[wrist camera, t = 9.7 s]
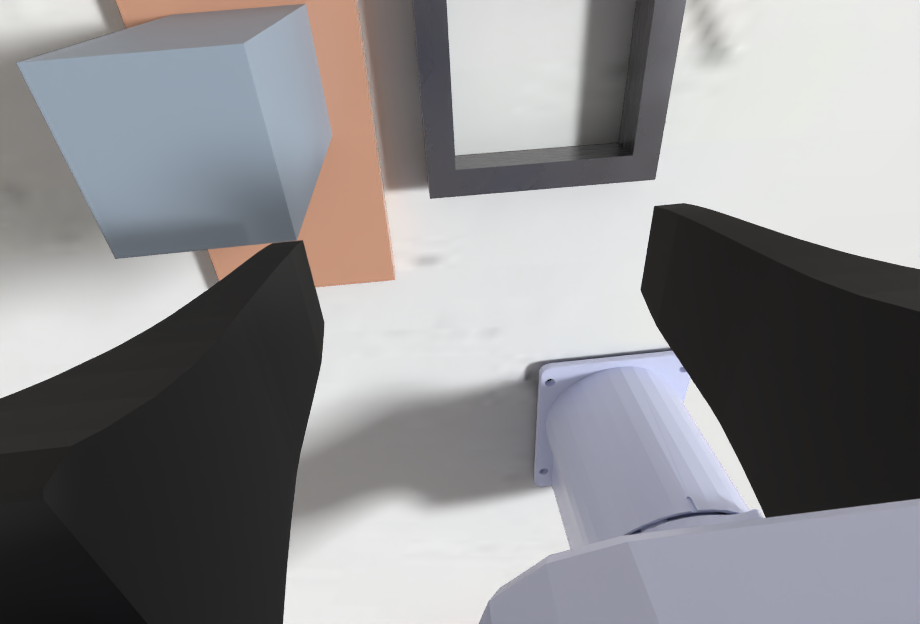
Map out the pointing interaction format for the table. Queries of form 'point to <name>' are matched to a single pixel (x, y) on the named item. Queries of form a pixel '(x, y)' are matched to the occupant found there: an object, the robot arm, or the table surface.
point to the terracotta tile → (348, 156)
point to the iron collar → (550, 166)
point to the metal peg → (191, 127)
